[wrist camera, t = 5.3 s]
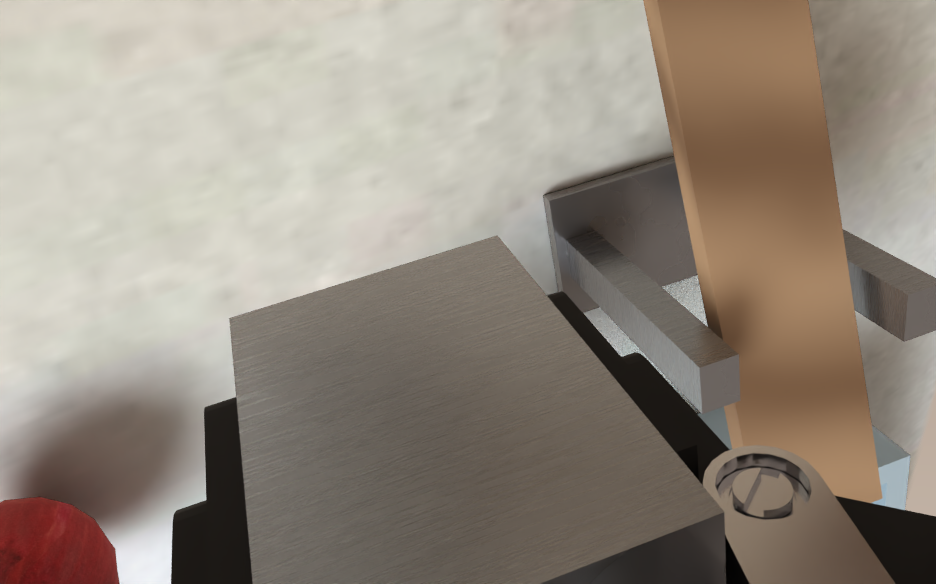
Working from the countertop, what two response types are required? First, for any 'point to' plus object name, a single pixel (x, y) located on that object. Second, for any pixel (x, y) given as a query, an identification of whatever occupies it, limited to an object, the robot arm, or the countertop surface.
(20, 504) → the onion
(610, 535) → the iron block
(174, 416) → the countertop surface
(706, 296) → the lever
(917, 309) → the fulcrum
